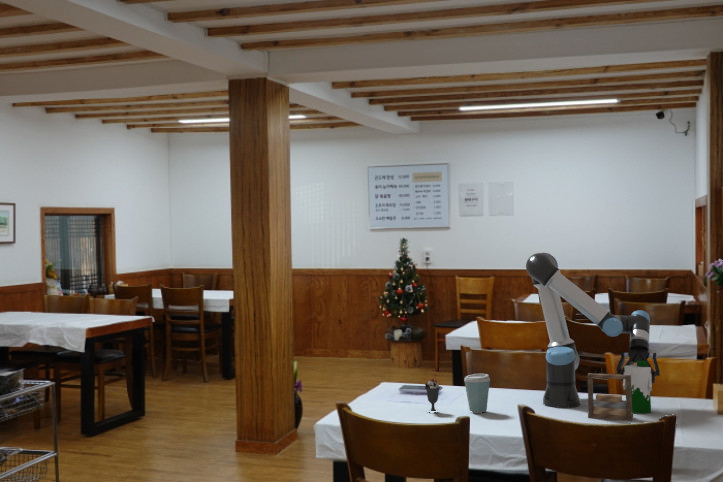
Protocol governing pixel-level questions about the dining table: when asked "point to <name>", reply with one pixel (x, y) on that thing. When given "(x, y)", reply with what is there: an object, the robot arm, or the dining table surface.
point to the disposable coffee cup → (477, 391)
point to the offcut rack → (610, 400)
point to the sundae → (432, 392)
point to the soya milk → (639, 386)
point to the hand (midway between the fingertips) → (637, 388)
